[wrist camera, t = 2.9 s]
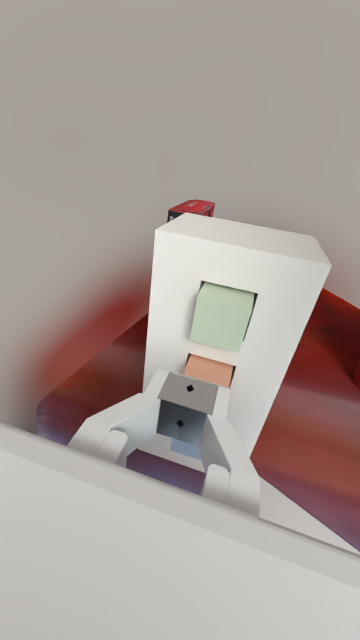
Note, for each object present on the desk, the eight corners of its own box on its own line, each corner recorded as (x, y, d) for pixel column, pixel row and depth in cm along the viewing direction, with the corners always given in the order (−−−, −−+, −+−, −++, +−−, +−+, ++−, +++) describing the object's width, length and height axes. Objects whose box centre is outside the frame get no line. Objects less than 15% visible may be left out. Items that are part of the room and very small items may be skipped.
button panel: (161, 398, 47) (186, 212, 32) (243, 424, 45) (313, 236, 29) (138, 449, 39) (155, 229, 23) (237, 484, 36) (331, 265, 21)
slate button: (181, 417, 37) (186, 394, 35) (213, 428, 36) (220, 404, 34) (170, 450, 33) (174, 425, 30) (206, 462, 32) (213, 438, 30)
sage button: (201, 314, 29) (209, 274, 26) (243, 324, 28) (255, 284, 26) (189, 339, 24) (197, 295, 22) (239, 353, 24) (252, 308, 21)
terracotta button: (190, 372, 33) (195, 342, 31) (226, 383, 32) (235, 352, 30) (178, 402, 29) (184, 370, 26) (220, 415, 28) (229, 383, 26)
